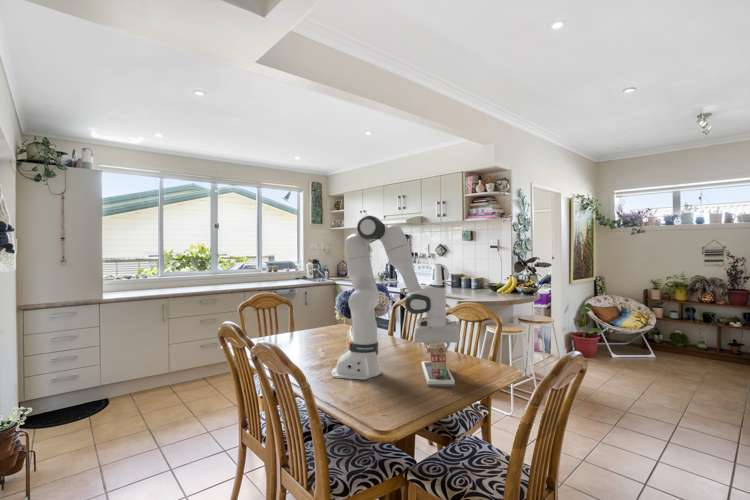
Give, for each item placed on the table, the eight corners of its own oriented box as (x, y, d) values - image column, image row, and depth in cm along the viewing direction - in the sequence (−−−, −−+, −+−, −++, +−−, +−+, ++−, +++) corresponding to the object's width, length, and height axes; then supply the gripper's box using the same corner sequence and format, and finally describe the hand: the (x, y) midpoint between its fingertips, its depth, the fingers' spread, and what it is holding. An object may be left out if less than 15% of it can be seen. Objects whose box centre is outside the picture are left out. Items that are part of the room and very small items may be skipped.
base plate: (427, 386, 151) (427, 380, 151) (421, 366, 177) (421, 361, 177) (454, 386, 151) (454, 380, 151) (444, 366, 177) (444, 361, 177)
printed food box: (430, 361, 175) (428, 335, 175) (443, 360, 174) (441, 334, 174) (432, 376, 154) (430, 347, 154) (447, 376, 153) (445, 346, 153)
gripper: (458, 319, 167) (459, 350, 167) (413, 320, 167) (413, 350, 167) (461, 322, 160) (461, 354, 160) (414, 322, 161) (414, 354, 161)
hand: (436, 352), depth 164 cm, fingers closed on printed food box, 6 cm apart
